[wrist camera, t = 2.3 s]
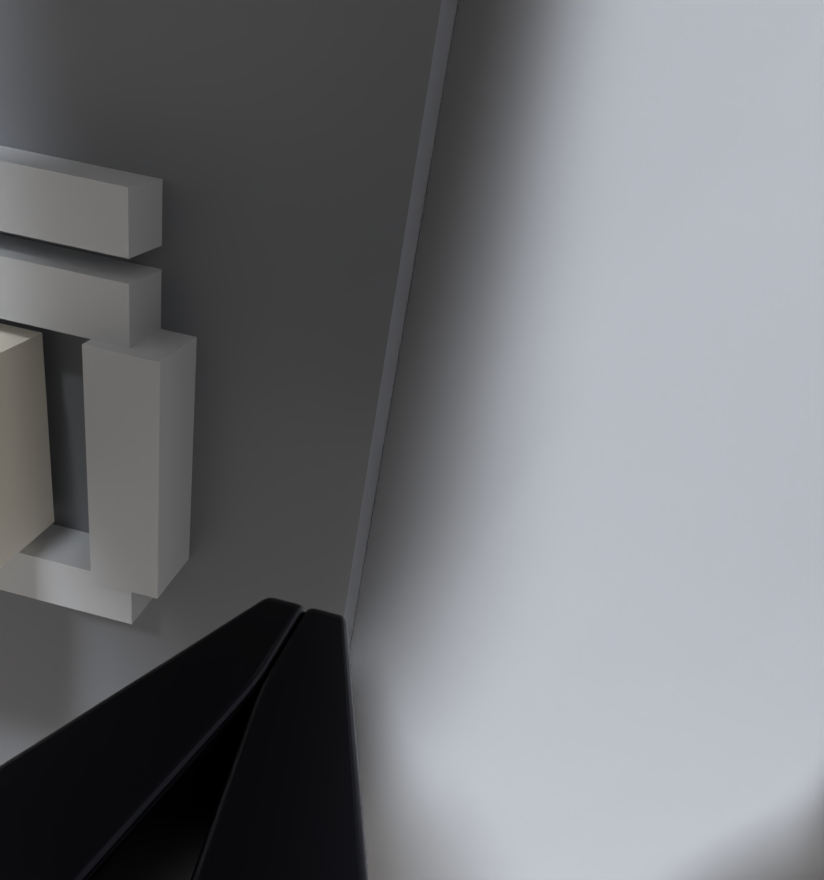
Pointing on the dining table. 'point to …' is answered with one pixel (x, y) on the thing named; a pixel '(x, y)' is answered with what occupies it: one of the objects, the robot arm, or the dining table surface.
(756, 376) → the dining table surface
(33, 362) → the fader cap
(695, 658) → the dining table surface
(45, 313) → the console board
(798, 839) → the dining table surface
